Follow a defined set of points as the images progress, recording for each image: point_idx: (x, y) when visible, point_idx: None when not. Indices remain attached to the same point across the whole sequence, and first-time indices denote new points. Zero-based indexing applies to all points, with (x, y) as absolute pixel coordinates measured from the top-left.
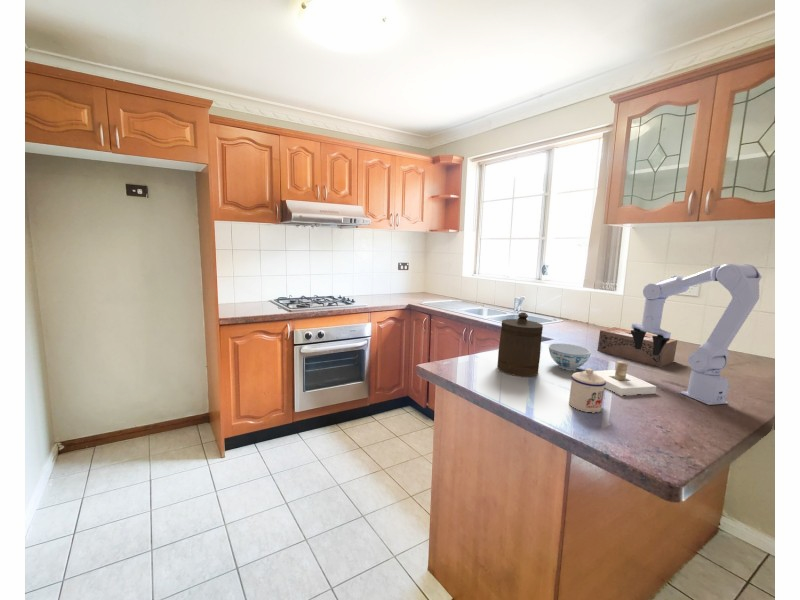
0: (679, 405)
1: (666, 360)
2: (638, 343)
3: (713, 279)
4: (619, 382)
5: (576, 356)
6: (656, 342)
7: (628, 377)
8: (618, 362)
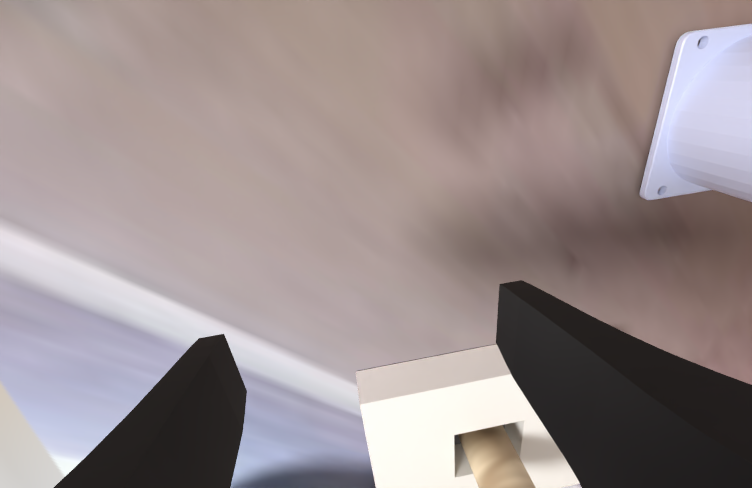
0: (706, 310)
1: None
2: (215, 459)
3: None
4: (529, 468)
5: None
6: None
7: (484, 410)
8: None
